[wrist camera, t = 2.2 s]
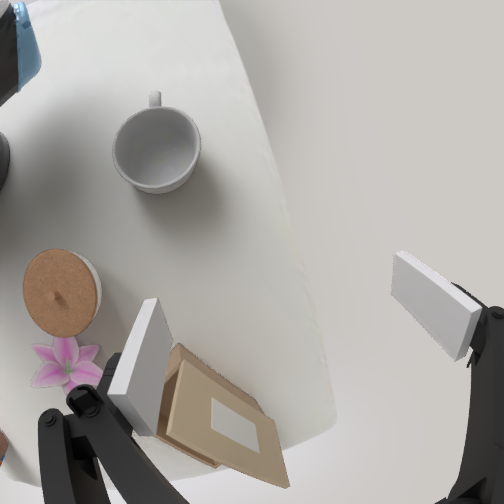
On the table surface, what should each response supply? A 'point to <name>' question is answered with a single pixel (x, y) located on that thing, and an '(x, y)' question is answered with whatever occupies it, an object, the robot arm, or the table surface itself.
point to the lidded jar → (62, 292)
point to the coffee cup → (3, 446)
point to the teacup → (157, 148)
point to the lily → (66, 365)
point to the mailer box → (169, 390)
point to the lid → (225, 428)
